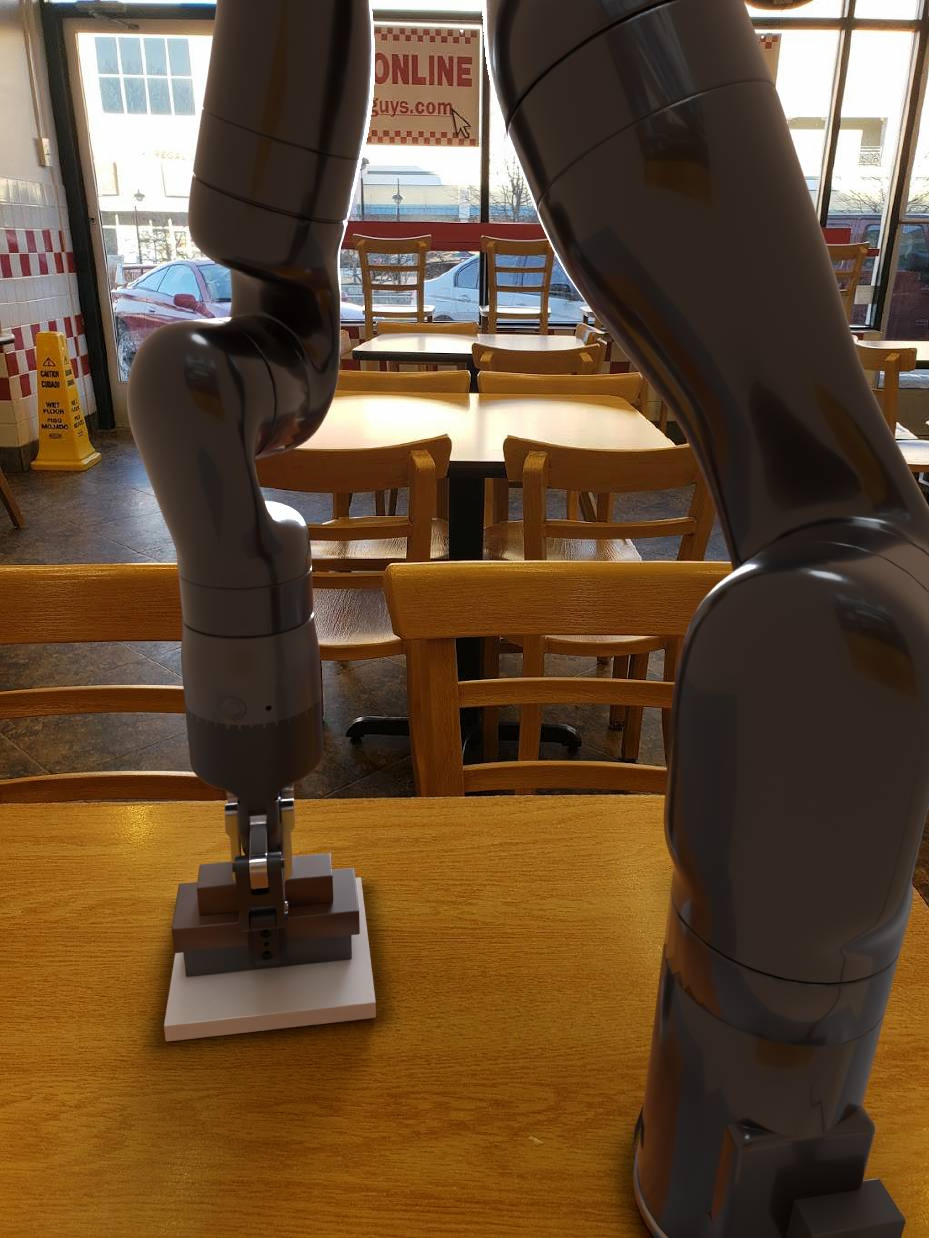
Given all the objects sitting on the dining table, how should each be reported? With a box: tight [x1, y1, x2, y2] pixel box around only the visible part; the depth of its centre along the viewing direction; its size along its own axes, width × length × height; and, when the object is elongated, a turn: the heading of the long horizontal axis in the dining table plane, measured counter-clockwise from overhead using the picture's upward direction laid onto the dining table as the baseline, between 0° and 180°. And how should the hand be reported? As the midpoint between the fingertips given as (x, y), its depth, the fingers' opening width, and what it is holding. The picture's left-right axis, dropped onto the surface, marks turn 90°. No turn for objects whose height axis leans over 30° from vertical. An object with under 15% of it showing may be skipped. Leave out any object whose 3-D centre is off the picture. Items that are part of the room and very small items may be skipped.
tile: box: [163, 876, 377, 1042], centre depth 60 cm, size 12×12×1 cm
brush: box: [170, 852, 360, 977], centre depth 58 cm, size 11×4×6 cm, turn 100°
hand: (268, 933), depth 59 cm, fingers closed on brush, 4 cm apart
